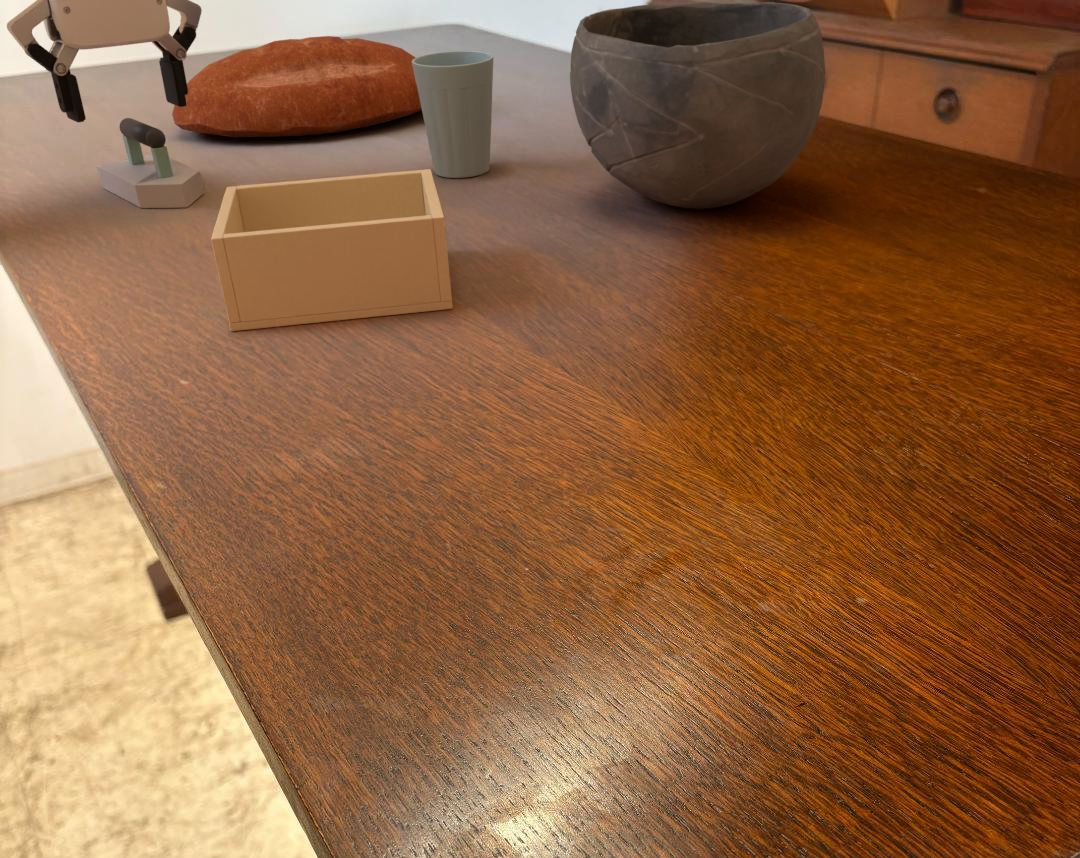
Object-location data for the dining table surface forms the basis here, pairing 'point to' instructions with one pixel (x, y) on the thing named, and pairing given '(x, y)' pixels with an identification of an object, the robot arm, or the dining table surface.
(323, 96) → the bread
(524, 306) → the dining table surface
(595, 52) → the bowl
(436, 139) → the cup
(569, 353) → the dining table surface
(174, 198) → the handle on base
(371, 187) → the open wooden box
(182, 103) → the robot arm
